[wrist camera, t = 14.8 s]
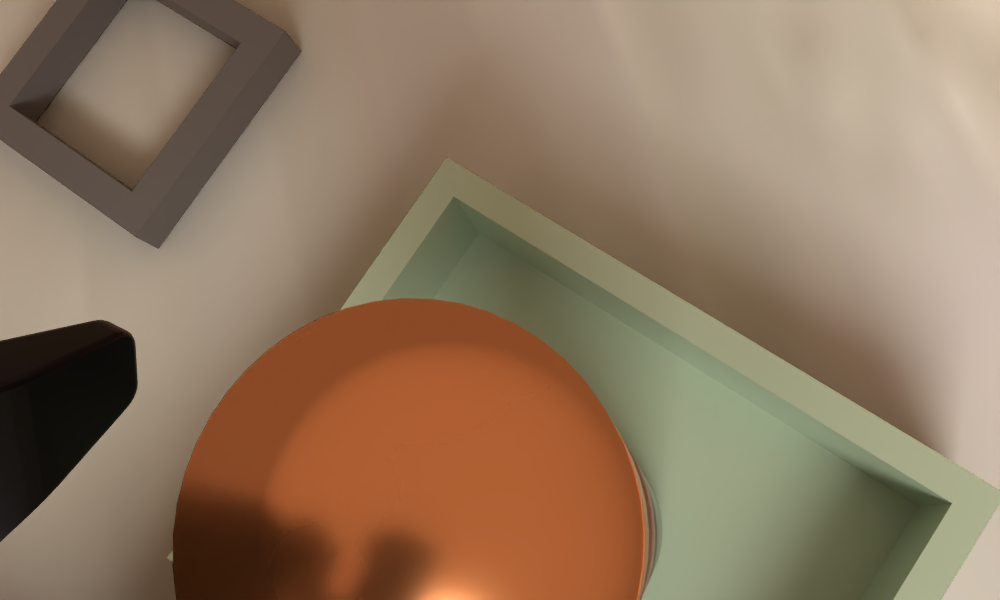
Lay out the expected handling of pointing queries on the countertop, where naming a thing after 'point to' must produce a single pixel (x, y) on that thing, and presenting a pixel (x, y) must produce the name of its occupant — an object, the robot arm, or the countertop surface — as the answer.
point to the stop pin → (413, 470)
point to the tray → (701, 415)
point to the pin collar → (195, 145)
